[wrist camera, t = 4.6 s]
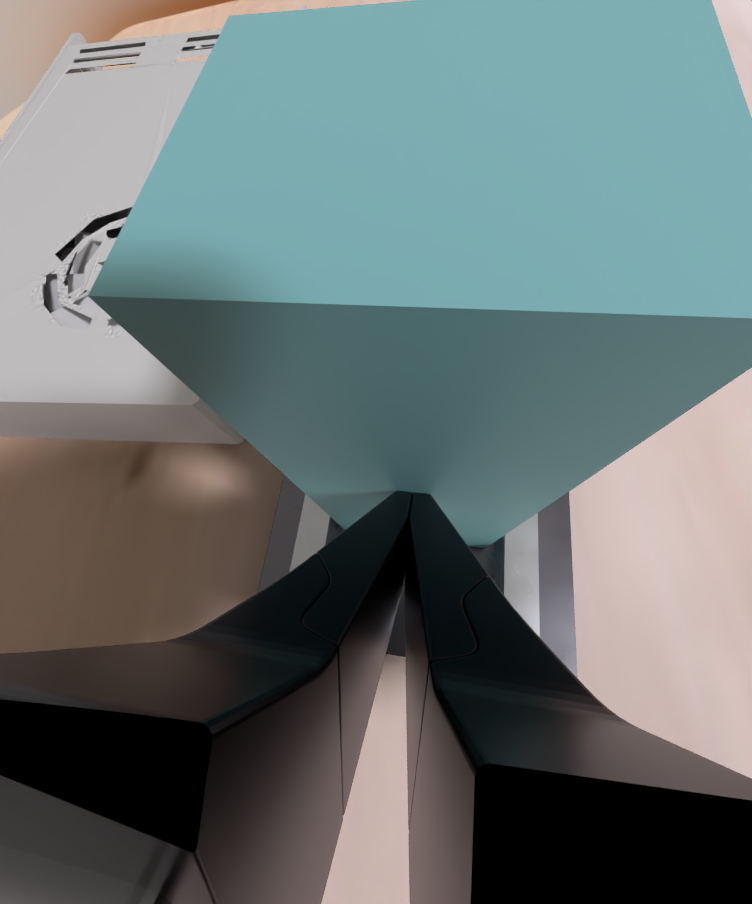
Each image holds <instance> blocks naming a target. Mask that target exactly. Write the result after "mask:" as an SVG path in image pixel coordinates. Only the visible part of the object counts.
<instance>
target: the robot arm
mask: <svg viewBox="0 0 752 904" xmlns="http://www.w3.org/2000/svg"><path fill="white" fill-rule="evenodd" d="M404 578H405V583H404ZM403 584H404V603H405V659H406V714H407V770H408V825H409V884H410V904H752V779H751V778H749V777H746V776H744V775H742V774H740V773H738V772H735V771H733V770H731V769H729V768H726V767H724V766H722V765H720V764H718V763H715V762H713V761H711V760H709V759H706V758H704V757H702V756H700V755H698V754H695V753H693V752H691V751H689V750H686V749H684V748H682V747H680V746H678V745H675V744H673V743H671V742H669V741H666V740H664V739H662V738H660V737H658V736H655V735H653V734H651V733H649V732H646V731H644V730H642V729H640V728H638V727H636V726H634V725H632V724H630V723H628V722H627V721H625V720H623V719H622V718H620V717H619V716H617V715H616V714H615V713H613V712H612V711H611V710H609V709H608V708H607V707H606V706H605V705H603V704H602V703H601V702H600V701H599V700H598V699H597V698H596V697H595V696H594V695H593V694H592V693H591V692H590V691H589V690H588V689H587V688H586V687H585V686H584V685H583V684H582V683H581V682H580V681H579V679H578V678H577V677H576V676H575V675H574V674H573V673H572V672H571V671H570V670H569V669H568V667H567V666H566V665H565V664H564V663H563V662H562V661H561V660H560V659H559V658H558V657H557V655H556V654H555V653H554V652H553V651H552V650H551V649H550V648H549V647H548V646H547V645H546V643H545V642H544V641H543V640H542V639H541V638H540V637H539V636H538V635H537V634H536V633H535V631H534V630H533V629H532V628H531V627H530V626H529V625H528V623H527V622H526V621H525V620H524V619H523V618H522V617H521V615H520V614H519V613H518V612H517V611H516V610H515V609H514V607H513V606H512V605H511V604H510V602H509V601H508V600H507V598H506V597H505V596H504V594H503V593H502V592H501V591H500V589H499V588H498V587H497V585H496V584H495V582H494V581H493V580H492V578H491V577H489V574H488V573H487V572H486V570H485V569H484V567H483V566H482V565H481V563H480V562H479V560H478V559H477V558H476V556H475V555H474V554H473V552H472V551H471V549H470V548H469V547H468V545H467V544H466V542H465V541H464V540H463V538H462V537H461V536H460V534H459V533H458V531H457V530H456V529H455V527H454V526H453V524H452V523H451V522H450V520H449V519H448V518H447V516H446V515H445V513H444V512H443V511H442V509H441V508H440V506H439V505H438V504H437V502H436V501H435V500H434V498H433V497H432V495H431V494H427V493H417V492H415V493H414V494H412V493H411V492H408V491H398V490H397V491H395V492H393V493H392V494H391V495H389V496H388V497H387V498H386V499H384V500H383V501H382V502H380V503H379V504H378V505H377V506H375V507H374V508H373V509H371V510H370V511H369V512H368V513H366V514H365V515H364V516H362V517H361V518H360V519H359V520H357V521H356V522H355V523H353V524H352V525H351V526H350V527H348V528H347V529H346V530H344V531H343V532H342V533H341V534H339V535H338V536H337V537H335V538H334V539H333V540H332V541H330V542H329V543H328V544H326V545H325V546H324V547H322V548H321V549H320V550H319V551H317V553H316V554H313V555H312V556H311V557H309V558H308V559H307V560H306V561H304V562H303V563H302V564H300V565H299V566H297V567H296V568H295V569H293V570H292V571H291V572H289V573H288V574H286V575H285V576H283V577H282V578H280V579H279V580H277V581H276V582H274V583H273V584H271V585H270V586H268V587H267V588H265V589H263V590H262V591H260V592H259V593H257V594H255V595H254V596H252V597H250V598H249V599H247V600H246V601H244V602H242V603H241V604H239V605H237V606H236V607H234V608H233V609H231V610H229V611H228V612H226V613H224V614H223V615H221V616H220V617H218V618H216V619H215V620H213V621H212V622H210V623H208V624H207V625H205V626H203V627H201V628H199V629H198V630H196V631H193V632H191V633H189V634H187V635H184V636H181V637H178V638H175V639H171V640H167V641H161V642H152V643H140V644H127V645H115V646H102V647H90V648H77V649H65V650H52V651H40V652H27V653H6V654H0V904H321V902H322V898H323V894H324V891H325V887H326V883H327V879H328V875H329V871H330V867H331V864H332V860H333V856H334V852H335V848H336V844H337V840H338V836H339V833H340V829H341V825H342V821H343V815H344V813H345V809H346V805H347V801H348V798H349V794H350V790H351V786H352V782H353V778H354V774H355V770H356V767H357V763H358V759H359V755H360V751H361V747H362V743H363V740H364V736H365V732H366V728H367V724H368V720H369V716H370V713H371V709H372V705H373V701H374V697H375V693H376V689H377V686H378V682H379V678H380V674H381V670H382V666H383V662H384V658H385V655H386V651H387V647H388V643H389V639H390V635H391V631H392V628H393V624H394V620H395V616H396V612H397V608H398V604H399V601H400V597H401V593H402V588H403Z"/></svg>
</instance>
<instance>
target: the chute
mask: <svg viewBox="0 0 752 904" xmlns="http://www.w3.org/2000/svg"><path fill="white" fill-rule="evenodd" d="M344 530H345V529H343V528H342V527H341V526H340V525H339V524H338V523H337V522H336V521H335V520H334V519H332V518H331V517H330V516H329V515H328V514H327V513H326V512H325V511H324V510H323V509H321V508H320V507H319V506H318V505H317V504H316V503H315V502H314V501H313V500H312V499H310V498H309V497H308V496H307V495H306V494H305V493H304V492H303V491H302V490H301V489H299V488H298V487H297V486H296V485H295V484H294V483H293V482H292V481H291V480H290V479H288V478H287V477H286V476H285V475H284V479H283V483H282V487H281V492H280V496H279V500H278V505H277V509H276V514H275V518H274V522H273V527H272V531H271V536H270V540H269V544H268V549H267V553H266V557H265V562H264V566H263V571H262V575H261V579H260V584H259V588H258V592H257V593H259V592H260V591H262V590H263V589H265V588H267V587H268V586H270V585H271V584H273V583H274V582H276V581H277V580H279V579H280V578H282V577H283V576H285V575H286V574H288V573H289V572H291V571H292V570H293V569H295V568H296V567H297V566H299V565H300V564H302V563H303V562H304V561H306V560H307V559H308V558H309V557H311V556H312V555H313V554H316V553H317V551H319V550H320V549H321V548H322V547H324V546H325V545H326V544H328V543H329V542H330V541H332V540H333V539H334V538H335V537H337V536H338V535H339V534H341V533H342V532H343V531H344ZM468 547H469V548H470V549H471V551H472V552H473V554H474V555H475V556H476V558H477V559H478V560H479V562H480V563H481V565H482V566H483V567H484V569H485V570H486V572H487V573H488V574H489V577H491V578H492V580H493V581H494V582H495V584H496V585H497V587H498V588H499V589H500V591H501V592H502V593H503V594H504V596H505V597H506V598H507V600H508V601H509V602H510V604H511V605H512V606H513V607H514V609H515V610H516V611H517V612H518V613H519V614H520V615H521V617H522V618H523V619H524V620H525V621H526V622H527V623H528V625H529V626H530V627H531V628H532V629H533V630H534V631H535V633H536V634H537V635H538V636H539V637H540V638H541V639H542V640H543V641H544V642H545V643H546V645H547V646H548V647H549V648H550V649H551V650H552V651H553V652H554V653H555V654H556V655H557V657H558V658H559V659H560V660H561V661H562V662H563V663H564V664H565V665H566V666H567V667H568V669H569V670H570V671H571V672H572V673H573V674H574V675H575V676H576V677H577V659H576V637H575V616H574V594H573V572H572V550H571V528H570V506H569V492H567V493H566V494H565V495H563V496H562V497H560V498H559V499H557V500H556V501H554V502H553V503H551V504H550V505H548V506H547V507H545V508H544V509H542V510H541V511H540V512H538V513H537V514H535V515H534V516H532V517H531V518H529V519H528V520H526V521H525V522H523V523H522V524H520V525H519V526H517V527H516V528H515V529H513V530H512V531H510V532H509V533H507V534H506V535H504V536H503V537H501V538H500V539H498V540H497V541H495V542H494V543H492V544H491V545H490V546H488V547H487V548H480V547H472V546H468ZM404 583H405V578H404ZM386 654H391V655H397V656H403V657H405V603H404V584H403V588H402V593H401V597H400V601H399V604H398V608H397V612H396V616H395V620H394V624H393V628H392V631H391V635H390V639H389V643H388V647H387V651H386Z"/></svg>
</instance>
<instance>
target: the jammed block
mask: <svg viewBox="0 0 752 904" xmlns="http://www.w3.org/2000/svg"><path fill="white" fill-rule="evenodd" d="M88 297H89V298H90V299H92V300H93V301H94V302H95V303H96V304H97V305H98V306H99V307H100V308H101V309H103V310H104V311H105V312H106V313H107V314H108V315H109V316H110V317H111V318H112V319H114V320H115V321H116V322H117V323H118V324H119V325H120V326H121V327H122V328H123V329H125V330H126V331H127V332H128V333H129V334H130V335H131V336H132V337H133V338H134V339H136V340H137V341H138V342H139V343H140V344H141V345H142V346H143V347H144V348H145V349H147V350H148V351H149V352H150V353H151V354H152V355H153V356H154V357H155V358H156V359H158V360H159V361H160V362H161V363H162V364H163V365H164V366H165V367H166V368H167V369H169V370H170V371H171V372H172V373H173V374H174V375H175V376H176V377H177V378H178V379H180V380H181V381H182V382H183V383H184V384H185V385H186V386H187V387H188V388H189V389H191V390H192V391H193V392H194V393H195V394H196V395H197V396H198V397H199V398H200V399H202V400H203V401H204V402H205V403H206V404H207V405H208V406H209V407H210V408H211V409H213V410H214V411H215V412H216V413H217V414H218V415H219V416H220V417H221V418H222V419H224V420H225V421H226V422H227V423H228V424H229V425H230V426H231V427H232V428H233V429H235V430H236V431H237V432H238V433H239V434H240V435H241V436H242V437H243V438H244V439H246V440H247V441H248V442H249V443H250V444H251V445H252V446H253V447H254V448H255V449H257V450H258V451H259V452H260V453H261V454H262V455H263V456H264V457H265V458H266V459H268V460H269V461H270V462H271V463H272V464H273V465H274V466H275V467H276V468H277V469H279V470H280V471H281V472H282V473H283V474H284V475H285V476H286V477H287V478H288V479H290V480H291V481H292V482H293V483H294V484H295V485H296V486H297V487H298V488H299V489H301V490H302V491H303V492H304V493H305V494H306V495H307V496H308V497H309V498H310V499H312V500H313V501H314V502H315V503H316V504H317V505H318V506H319V507H320V508H321V509H323V510H324V511H325V512H326V513H327V514H328V515H329V516H330V517H331V518H332V519H334V520H335V521H336V522H337V523H338V524H339V525H340V526H341V527H342V528H343V529H345V530H346V529H347V528H348V527H350V526H351V525H352V524H353V523H355V522H356V521H357V520H359V519H360V518H361V517H362V516H364V515H365V514H366V513H368V512H369V511H370V510H371V509H373V508H374V507H375V506H377V505H378V504H379V503H380V502H382V501H383V500H384V499H386V498H387V497H388V496H389V495H391V494H392V493H393V492H395V491H397V490H398V491H408V492H411V493H412V494H414V493H415V492H417V493H427V494H431V495H432V497H433V498H434V500H435V501H436V502H437V504H438V505H439V506H440V508H441V509H442V511H443V512H444V513H445V515H446V516H447V518H448V519H449V520H450V522H451V523H452V524H453V526H454V527H455V529H456V530H457V531H458V533H459V534H460V536H461V537H462V538H463V540H464V541H465V542H466V544H467V545H468V546H472V547H480V548H487V547H488V546H490V545H491V544H492V543H494V542H495V541H497V540H498V539H500V538H501V537H503V536H504V535H506V534H507V533H509V532H510V531H512V530H513V529H515V528H516V527H517V526H519V525H520V524H522V523H523V522H525V521H526V520H528V519H529V518H531V517H532V516H534V515H535V514H537V513H538V512H540V511H541V510H542V509H544V508H545V507H547V506H548V505H550V504H551V503H553V502H554V501H556V500H557V499H559V498H560V497H562V496H563V495H565V494H566V493H567V492H569V491H570V490H572V489H573V488H575V487H576V486H578V485H579V484H581V483H582V482H584V481H585V480H587V479H588V478H590V477H591V476H592V475H594V474H595V473H597V472H598V471H600V470H601V469H603V468H604V467H606V466H607V465H609V464H610V463H612V462H613V461H615V460H616V459H617V458H619V457H620V456H622V455H623V454H625V453H626V452H628V451H629V450H631V449H632V448H634V447H635V446H637V445H638V444H640V443H641V442H642V441H644V440H645V439H647V438H648V437H650V436H651V435H653V434H654V433H656V432H657V431H659V430H660V429H662V428H663V427H665V426H666V425H668V424H669V423H670V422H672V421H673V420H675V419H676V418H678V417H679V416H681V415H682V414H684V413H685V412H687V411H688V410H690V409H691V408H693V407H694V406H695V405H697V404H698V403H700V402H701V401H703V400H704V399H706V398H707V397H709V396H710V395H712V394H713V393H715V392H716V391H718V390H719V389H720V388H722V387H723V386H725V385H726V384H728V383H729V382H731V381H732V380H734V379H735V378H737V377H738V376H740V375H741V374H743V373H744V372H745V371H747V370H748V369H750V368H751V367H752V118H751V115H750V112H749V109H748V106H747V103H746V101H745V98H744V95H743V92H742V89H741V86H740V83H739V80H738V77H737V74H736V71H735V68H734V65H733V62H732V59H731V56H730V54H729V51H728V48H727V45H726V42H725V39H724V36H723V33H722V30H721V27H720V24H719V21H718V18H717V15H716V12H715V9H714V6H713V4H712V1H711V0H416V1H404V2H392V3H380V4H368V5H356V6H344V7H332V8H320V9H307V10H295V11H283V12H271V13H259V14H247V15H235V16H229V17H228V19H227V21H226V23H225V25H224V27H223V29H222V31H221V33H220V35H219V37H218V39H217V41H216V43H215V45H214V47H213V49H212V51H211V53H210V55H209V57H208V59H207V61H206V63H205V65H204V67H203V69H202V71H201V73H200V75H199V77H198V79H197V81H196V83H195V85H194V87H193V89H192V91H191V93H190V95H189V97H188V98H187V100H186V102H185V104H184V106H183V108H182V110H181V112H180V114H179V116H178V118H177V120H176V122H175V124H174V126H173V128H172V130H171V132H170V134H169V136H168V138H167V140H166V142H165V144H164V146H163V148H162V150H161V152H160V154H159V156H158V158H157V160H156V162H155V164H154V166H153V168H152V170H151V172H150V174H149V176H148V178H147V180H146V182H145V184H144V186H143V188H142V189H141V191H140V193H139V195H138V197H137V199H136V201H135V203H134V205H133V207H132V209H131V211H130V213H129V215H128V217H127V219H126V221H125V223H124V225H123V227H122V229H121V231H120V233H119V235H118V237H117V239H116V241H115V243H114V245H113V247H112V249H111V251H110V253H109V255H108V257H107V259H106V261H105V263H104V265H103V267H102V269H101V271H100V273H99V275H98V277H97V279H96V280H95V282H94V284H93V286H92V288H91V290H90V292H89V294H88Z"/></svg>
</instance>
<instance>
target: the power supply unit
mask: <svg viewBox="0 0 752 904" xmlns="http://www.w3.org/2000/svg"><path fill="white" fill-rule="evenodd" d="M301 10H307V6H306V5H304V6H301ZM221 31H222V29H218V30H208V31H199V32H190V33H181V34H172V35H162V36H153V37H144V38H135V39H126V40H116V41H107V42H98V43H90V44H87V42H86V41H85V39H84V37H83V36H82V34H79V33H72V35H71V36H70V37H69V39H68V40H67V42H66V43H65V45H64V46H63V48H62V49H61V51H60V52H59V54H58V55H57V57H56V58H55V60H54V61H53V63H52V65H51V66H50V67H49V69H48V70H47V72H46V73H45V75H44V76H43V78H42V79H41V81H40V82H39V84H38V85H37V87H36V88H35V90H34V91H33V93H32V94H31V96H30V97H29V99H28V100H27V102H26V103H25V105H24V106H23V108H22V109H21V111H20V112H19V114H18V115H17V117H16V118H15V119H14V121H13V122H12V124H11V125H10V127H9V128H8V130H7V131H6V133H5V134H4V136H3V137H2V139H1V140H0V437H9V438H43V439H76V440H110V441H143V442H177V443H210V444H240V443H242V442H243V441H244V438H243V437H242V436H241V435H240V434H239V433H238V432H237V431H236V430H235V429H233V428H232V427H231V426H230V425H229V424H228V423H227V422H226V421H225V420H224V419H222V418H221V417H220V416H219V415H218V414H217V413H216V412H215V411H214V410H213V409H211V408H210V407H209V406H208V405H207V404H206V403H205V402H204V401H203V400H202V399H200V398H199V397H198V396H197V395H196V394H195V393H194V392H193V391H192V390H191V389H189V388H188V387H187V386H186V385H185V384H184V383H183V382H182V381H181V380H180V379H178V378H177V377H176V376H175V375H174V374H173V373H172V372H171V371H170V370H169V369H167V368H166V367H165V366H164V365H163V364H162V363H161V362H160V361H159V360H158V359H156V358H155V357H154V356H153V355H152V354H151V353H150V352H149V351H148V350H147V349H145V348H144V347H143V346H142V345H141V344H140V343H139V342H138V341H137V340H136V339H134V338H133V337H132V336H131V335H130V334H129V333H128V332H127V331H126V330H125V329H123V328H122V327H121V326H120V325H119V324H118V323H117V322H116V321H115V320H114V319H112V318H111V317H110V316H109V315H108V314H107V313H106V312H105V311H104V310H103V309H101V308H100V307H99V306H98V305H97V304H96V303H95V302H94V301H93V300H92V299H90V298H89V297H88V294H89V292H90V290H91V288H92V286H93V284H94V282H95V280H96V279H97V277H98V275H99V273H100V271H101V269H102V267H103V265H104V263H105V261H106V259H107V257H108V255H109V253H110V251H111V249H112V247H113V245H114V243H115V241H116V239H117V237H118V235H119V233H120V231H121V229H122V227H123V225H124V223H125V221H126V219H127V217H128V215H129V213H130V211H131V209H132V207H133V205H134V203H135V201H136V199H137V197H138V195H139V193H140V191H141V189H142V188H143V186H144V184H145V182H146V180H147V178H148V176H149V174H150V172H151V170H152V168H153V166H154V164H155V162H156V160H157V158H158V156H159V154H160V152H161V150H162V148H163V146H164V144H165V142H166V140H167V138H168V136H169V134H170V132H171V130H172V128H173V126H174V124H175V122H176V120H177V118H178V116H179V114H180V112H181V110H182V108H183V106H184V104H185V102H186V100H187V98H188V97H189V95H190V93H191V91H192V89H193V87H194V85H195V83H196V81H197V79H198V77H199V75H200V73H201V71H202V69H203V67H204V65H205V63H206V61H207V60H197V61H186V62H176V61H177V60H178V59H179V58H188V57H198V56H207V55H210V53H211V51H212V49H213V47H214V45H215V43H216V41H217V39H218V37H219V35H220V33H221ZM210 48H211V49H210ZM200 49H201V50H200ZM132 56H138V57H135V58H124V59H113V58H123V57H132ZM104 59H113V60H104ZM98 60H102V61H98ZM125 64H134V65H133V66H132V67H127V68H117V69H107V70H103V69H102V66H113V65H125ZM80 69H81V70H80Z"/></svg>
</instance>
